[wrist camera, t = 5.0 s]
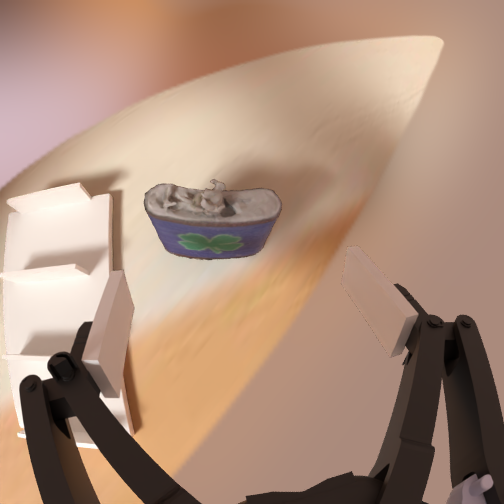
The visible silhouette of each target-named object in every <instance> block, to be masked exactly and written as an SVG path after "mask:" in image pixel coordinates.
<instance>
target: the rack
mask: <svg viewBox="0 0 504 504" xmlns="http://www.w3.org/2000/svg"><path fill="white" fill-rule="evenodd" d="M7 204H9V205H10V206H11V207H13V208H14V209H15V210H17V212H13V213H9V217H8V225H7V233H6V243H5V256H4V273H0V278H3V312H4V331H5V344H6V354H2V357H3V359H7V362H8V369H9V376H10V382H11V388H12V394H13V399H14V404H15V408H16V413H17V417H18V421H19V425H20V427H22V428H24V424H23V417H22V410H21V402H20V393H19V385H20V383H21V381H22V380H23V379H24V378H25V377H26V376H28V375H32V374H34V375H37V376H38V377H40V379H41V380H46V379H50V378H53V377H52V375H51V374H50V372H49V371H48V368H47V363H48V361H49V359H50V358H51V357H52V356H53V355H54V354H56V353H58V352H64V351H65V352H68V353H70V352H71V349H72V346H73V344H74V340H75V338H76V334H77V331H78V329H79V327H80V326H81V325H82V324H83V323H84V322H88V321H93V320H94V317H95V314H96V311H97V308H98V306H99V303H100V300H101V297H102V294H103V291H104V289H105V286H106V283H107V281H108V278H109V275H110V273H111V271H113V251H112V220H113V198H112V196H111V195H110V193H109V194H103V195H97V196H90V194H89V193H88V192H87V191H86V189H85V188H84V187H83V186H82V184H81V183H74V184H70V185H65V186H60V187H55V188H51V189H47V190H42V191H38V192H34V193H30V194H26V195H22V196H18V197H14V198H10V199H7ZM100 398H101V400H102V401H103V402H104V403H105V405H106V406H107V407H108V409H109V410H110V411H111V412H112V414H113V415H114V416H115V417H116V419H117V420H118V421H119V422H120V424H121V425H122V426H123V427H124V428H125V430H126V431H127V432H128V433H129V434H130V435H131V436H132V437H133V436H134V435H135V433H134V429H133V424H132V420H131V415H130V410H129V405H128V400H127V395H126V389H125V383H124V377H123V376H122V384H121V391H120V398H104V396H103V395H102V393H101V391H100ZM68 419H69V423H70V426H71V429H72V433H73V436H74V439H75V442H76V445H77V447H85V448H96V449H98V447H97V446H96V445H95V443H94V442H93V440H92V439H91V438H90V436H89V435H88V433H87V432H86V430H85V429H84V427H83V426H82V424H81V423H80V421H79V420H78V418H77V417H76V416H75V417H71V418H68ZM17 434H18V437H22V438H26V435H25V430H23V431H20V432H18V433H17Z"/></svg>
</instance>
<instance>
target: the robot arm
mask: <svg viewBox="0 0 504 504" xmlns="http://www.w3.org/2000/svg"><path fill="white" fill-rule="evenodd" d="M341 284H342V286H343V287H344V288H345V290H346V292H347V293H348V295H349V296H350V298H351V299H352V301H353V302H354V303H355V305H356V307H357V308H358V309H359V311H360V312H361V314H362V315H363V317H364V318H365V320H366V322H367V323H368V325H369V326H370V327H371V329H372V331H373V332H374V333H375V335H376V337H377V338H378V340H379V341H380V343H381V345H382V346H383V347H384V349H385V351H386V352H387V354H388V356H389V357H394V356H396V355H400V354H402V352H403V350H404V348H405V346H406V347H407V349H408V350H409V352H408V354H407V356H406V358H405V360H404V362H403V365H404V364H405V366H404V371H403V375H402V379H401V384H400V388H399V391H398V395H397V399H396V402H395V406H394V409H393V413H392V417H391V420H390V423H389V426H388V430H387V432H386V436H385V438H384V442H383V444H382V447H381V450H380V453H379V456H378V459H377V461H376V463H375V465H374V467H373V469H372V470H371V472H370V474H369V476H354V475H353V473H352V471H351V472H349V473H346V474H342V475H339V476H336V477H332V478H329V479H327V480H325V481H323V482H321V483H319V484H317V485H315V486H314V487H311V488H310V489H308V490H306V491H303V492H269V493H263V494H257V495H250V496H246V500H247V501H243V502H240V503H238V504H428V503H426V502H423V501H422V497H423V494H424V491H425V488H426V484H427V480H428V477H429V474H430V470H431V466H432V462H433V457H434V452H435V448H434V447H433V446H432V445H431V442H432V437H433V432H434V427H435V422H436V416H437V409H438V404H439V397H440V389H441V380H443V387H444V393H445V401H446V410H447V420H448V431H449V447H450V472H451V482H452V488H453V490H452V492H451V493H450V497H449V498H448V500H447V503H446V504H504V422H503V417H502V412H501V407H500V403H499V399H498V394H497V391H496V386H495V382H494V378H493V375H492V371H491V368H490V364H489V361H488V358H487V354H486V351H485V348H484V345H483V342H482V339H481V336H480V334H479V331H478V328H477V326H476V323H475V321H474V320H473V319H472V318H471V317H469V316H467V315H459V316H457V318H456V320H455V322H444V321H443V320H442V319H441V318H439V317H438V316H435V315H428V314H427V313H426V312H425V310H424V309H423V308H422V307H421V306H420V305H419V303H418V302H417V301H416V300H414V298H413V297H412V295H410V293H409V292H408V291H407V290H406V289H405V288H404V287H402V286H401V285H399V284H392V282H391V281H390V280H389V279H388V278H387V277H386V276H385V274H383V272H382V271H381V270H380V269H379V268H378V267H377V266H376V265H375V263H374V262H373V261H372V260H371V259H370V258H369V257H368V256H367V255H366V254H365V253H364V251H363V250H362V249H361V248H360V247H359V246H350V247H347V251H346V258H345V264H344V270H343V276H342V282H341ZM133 313H134V304H133V301H132V298H131V295H130V291H129V288H128V284H127V281H126V277H125V274H124V270H117V271H111V273H110V275H109V278H108V281H107V283H106V286H105V289H104V291H103V294H102V297H101V300H100V303H99V306H98V308H97V311H96V314H95V317H94V320H93V321H88V322H84V323H83V324H82V325H81V326H80V327H79V329H78V331H77V334H76V338H75V340H74V344H73V346H72V349H71V352H70V353H68V352H65V351H64V352H58V353H56V354H54V355H53V356H52V357H51V358H50V359H49V361H48V363H47V368H48V371H49V372H50V374H51V375H52V377H53V378H50V379H46V380H41V379H40V377H38V376H37V375H34V374H32V375H28V376H26V377H25V378H24V379H23V380H22V381H21V383H20V385H19V393H20V402H21V410H22V417H23V424H24V430H25V435H26V440H27V445H28V450H29V454H30V459H31V463H32V467H33V471H34V474H35V478H36V481H37V485H38V488H39V491H40V495H41V498H42V501H43V504H100V502H99V500H98V498H97V495H96V493H95V491H94V489H93V486H92V484H91V482H90V479H89V477H88V474H87V472H86V469H85V467H84V464H83V462H82V459H81V456H80V454H79V451H78V448H77V445H76V442H75V439H74V436H73V433H72V429H71V426H70V423H69V419H68V418H71V417H75V416H76V417H77V418H78V420H79V421H80V423H81V424H82V426H83V427H84V429H85V430H86V432H87V433H88V435H89V436H90V438H91V439H92V440H93V442H94V443H95V445H96V446H97V447H98V449H99V450H100V452H101V453H102V454H103V456H104V457H105V458H106V459H107V461H108V462H109V463H110V465H111V466H112V467H113V468H114V470H115V471H116V472H117V473H118V474H119V476H120V477H121V478H122V479H123V480H124V482H125V483H126V484H127V485H128V486H129V487H130V488H131V490H132V491H133V492H134V493H135V494H136V495H137V496H138V497H139V498H140V499H141V500H142V501H143V503H144V504H201V503H200V502H199V501H198V500H196V499H195V498H194V497H193V496H192V495H191V494H189V493H188V492H187V491H186V490H185V489H183V488H182V487H181V486H180V485H179V484H177V483H176V482H175V481H174V480H173V479H172V478H171V477H170V476H169V475H168V474H167V473H166V472H165V471H164V470H163V469H162V468H161V467H160V466H159V465H158V464H157V463H156V462H155V461H154V460H153V459H152V458H151V457H150V456H149V455H148V454H147V453H146V452H145V451H144V450H143V449H142V448H141V447H140V445H139V444H138V443H137V442H136V441H135V440H134V439H133V438H132V436H131V435H130V434H129V433H128V432H127V431H126V430H125V428H124V427H123V426H122V425H121V424H120V422H119V421H118V420H117V419H116V417H115V416H114V415H113V414H112V412H111V411H110V410H109V409H108V407H107V406H106V405H105V403H104V402H103V401H102V400H101V398H100V391H101V393H102V395H103V396H104V398H120V391H121V384H122V376H123V370H124V363H125V357H126V351H127V345H128V339H129V334H130V328H131V323H132V318H133Z"/></svg>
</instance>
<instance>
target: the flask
mask: <svg viewBox="0 0 504 504" xmlns="http://www.w3.org/2000/svg"><path fill="white" fill-rule="evenodd" d="M210 182H211V183H213V184H215V188H214V189H212V190H210V189H207V188H206V190H197V189H188V188H184V187H181V186H176V185H173V184H159V185H156V186H155V187H153V188H151V189H150V190H149V191H148V192H146V193H145V199H144V206H145V210H146V212H147V214H148V216H149V218H150V219H151V221H152V224H153V226H154V227H155V229H156V231H157V234H158V236H159V239H160V240H161V242H162V243H163V245H164V247H165V249H166V250H167V251H168V252H169V253H171V254H174V255H176V256H179V257H180V256H181V257H187V258H190V259H192V258H194V259H200V260H203V259H206V260H212V259H230V258H241V257H247V256H252V255H254V254H256V253H258V252H259V251H260V250H261V249H262V248H263V246H264V243H265V241H266V239H267V237H268V235H269V234H270V232H271V229H272V227H273V225H274V223H275V221H276V219H277V218H278V216H279V215H280V212H281V208H282V203H281V200H280V199H279V197H278V195H277V194H275V192H274V191H273V190H270V189H263V188H257V189H250V190H249V189H247V190H240V191H233V190H230V191H227V190H223V189H224V188H225V185H224V183H222V182H218V181H217V180H215V179H213V180H211V181H210ZM222 190H223V191H222Z"/></svg>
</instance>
